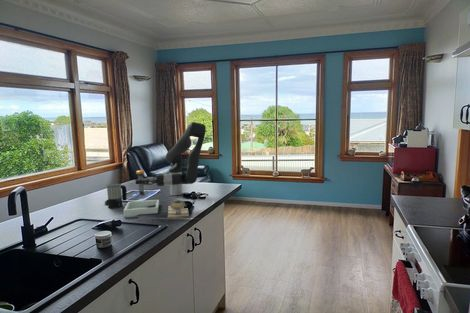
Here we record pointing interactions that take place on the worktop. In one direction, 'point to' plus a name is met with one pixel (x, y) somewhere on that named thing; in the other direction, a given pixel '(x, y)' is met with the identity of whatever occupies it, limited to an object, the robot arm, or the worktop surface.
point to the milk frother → (115, 195)
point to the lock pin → (141, 186)
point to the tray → (140, 208)
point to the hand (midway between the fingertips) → (136, 181)
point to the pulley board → (173, 213)
